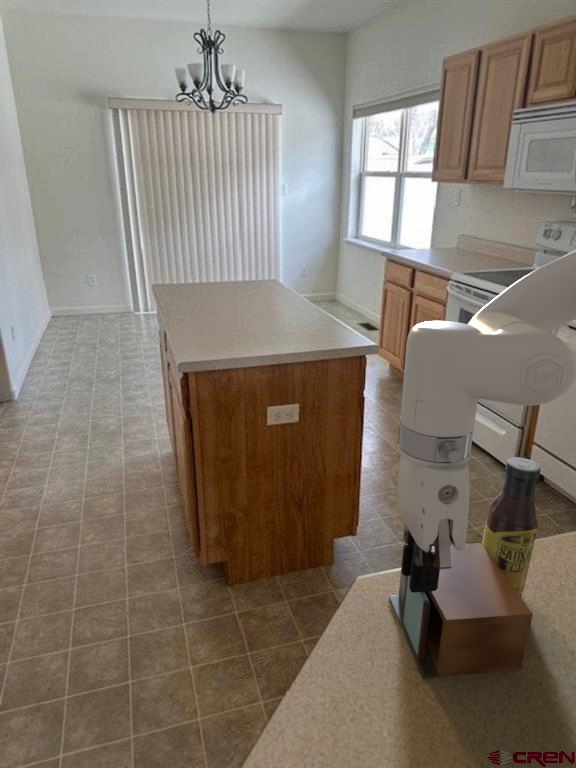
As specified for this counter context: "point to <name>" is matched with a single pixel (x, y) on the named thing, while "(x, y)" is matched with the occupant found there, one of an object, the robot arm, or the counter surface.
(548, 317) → the robot arm
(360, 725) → the counter surface
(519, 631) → the cabinet
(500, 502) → the sauce bottle
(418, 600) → the glass door
